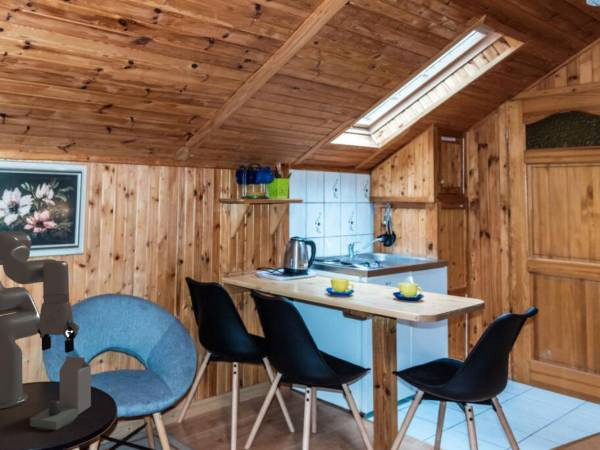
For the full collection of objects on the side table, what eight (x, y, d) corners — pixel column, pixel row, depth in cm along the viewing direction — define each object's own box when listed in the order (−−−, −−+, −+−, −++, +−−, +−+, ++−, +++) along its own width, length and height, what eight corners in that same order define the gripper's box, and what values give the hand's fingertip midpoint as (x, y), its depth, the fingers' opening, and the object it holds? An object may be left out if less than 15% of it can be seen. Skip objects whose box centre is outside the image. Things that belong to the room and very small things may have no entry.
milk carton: (77, 416, 164) (77, 360, 163) (59, 414, 165) (59, 359, 165) (90, 407, 171) (90, 354, 170) (73, 405, 172) (72, 353, 172)
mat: (24, 429, 154) (24, 427, 154) (51, 413, 166) (51, 411, 166) (57, 433, 151) (57, 431, 151) (82, 417, 163) (82, 415, 163)
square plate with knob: (30, 426, 155) (30, 405, 155) (52, 413, 164) (52, 394, 164) (56, 429, 153) (56, 409, 152) (77, 416, 162) (77, 397, 162)
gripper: (26, 299, 158) (28, 351, 158) (68, 302, 152) (69, 356, 153) (45, 295, 165) (47, 345, 166) (86, 297, 159) (87, 349, 160)
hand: (57, 350), depth 159 cm, fingers open, 9 cm apart
